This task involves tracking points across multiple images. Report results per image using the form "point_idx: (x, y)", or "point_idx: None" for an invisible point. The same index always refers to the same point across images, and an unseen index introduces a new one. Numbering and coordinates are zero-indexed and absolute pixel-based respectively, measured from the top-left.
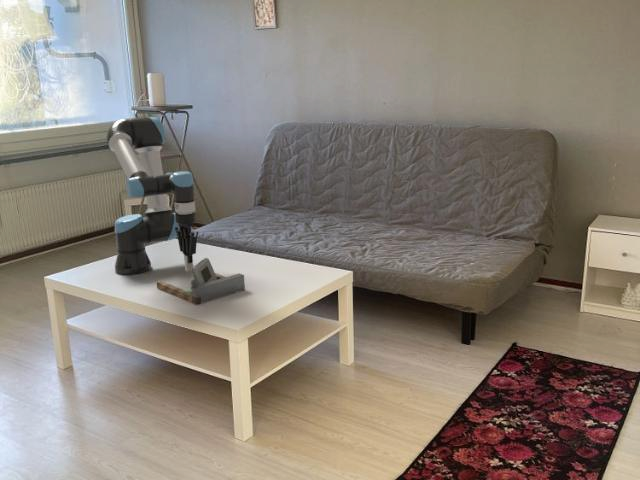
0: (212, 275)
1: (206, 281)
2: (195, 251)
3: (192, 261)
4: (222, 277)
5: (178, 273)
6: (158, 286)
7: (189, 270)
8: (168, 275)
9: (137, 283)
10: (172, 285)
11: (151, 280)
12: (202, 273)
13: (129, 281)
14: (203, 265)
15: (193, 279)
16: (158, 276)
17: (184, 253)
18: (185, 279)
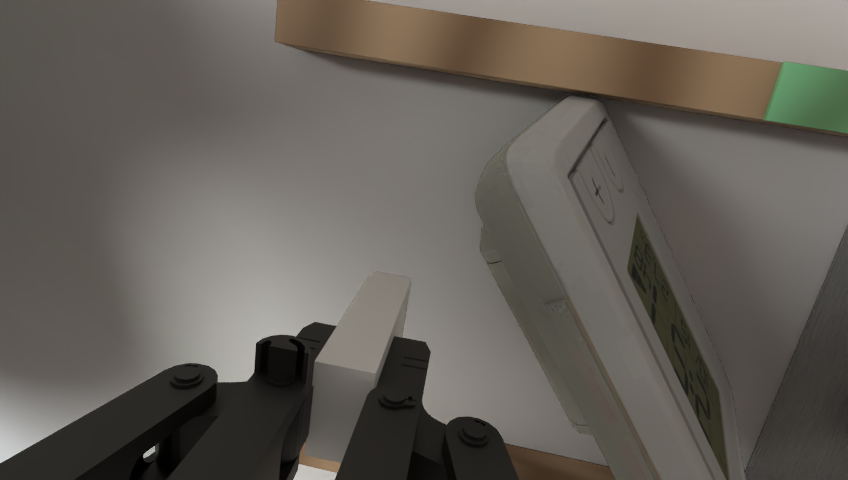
0: (630, 196)
1: (702, 360)
2: (509, 467)
3: (429, 355)
4: (666, 81)
5: (97, 101)
6: None
7: (404, 321)
8: (85, 184)
9: None
10: None
11: (100, 330)
12: (710, 432)
13: (17, 409)
14: (672, 384)
15: (563, 398)
16: (53, 242)
17: (298, 461)
18: (273, 184)
